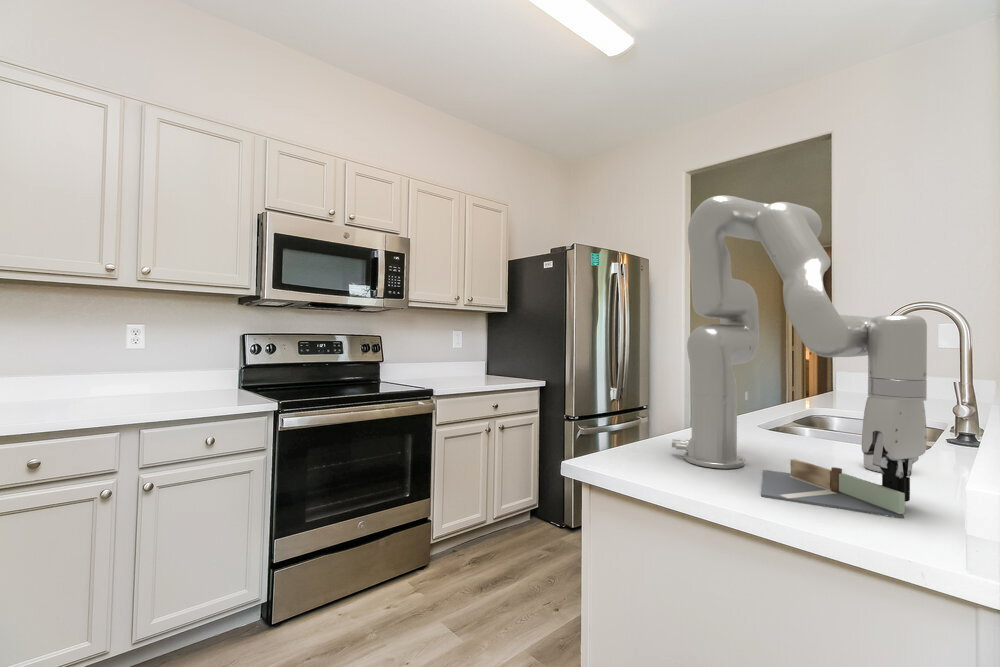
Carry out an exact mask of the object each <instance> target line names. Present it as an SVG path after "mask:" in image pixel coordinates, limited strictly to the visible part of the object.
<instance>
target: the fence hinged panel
mask: <svg viewBox="0 0 1000 667" xmlns="http://www.w3.org/2000/svg"><path fill="white" fill-rule="evenodd" d="M881 485H882V484H877V483H875V482H871V481H868V480H865V479H862V478H859V477H857V476H852V475H849V474H847V473H844V472H842V473H840V474H839V491H840V492H843V493H845V494H848V495H851V496H853V497H856V498H859V499H861V500H864V501H867V502H869V503H872V504H875V505H877V506H880V507H883V508H885V509H888V510H891V511H893V512H896V513H899V514H903V515H904V514H906V511H905V507H906V506H905V504H906V503H905V493H902V492H899V491H896V490H893V489H890V488H887V487H884V486H881Z"/></svg>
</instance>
